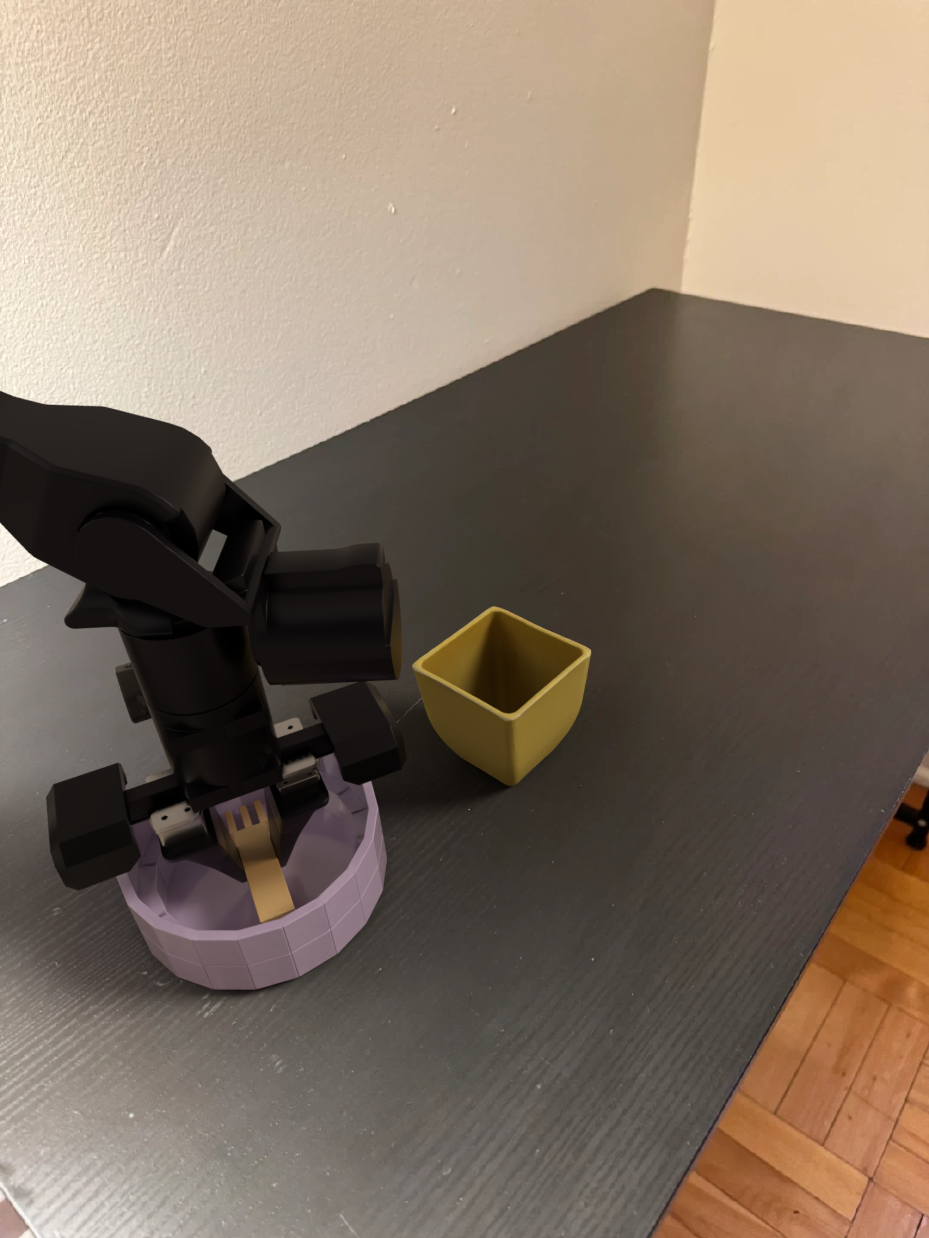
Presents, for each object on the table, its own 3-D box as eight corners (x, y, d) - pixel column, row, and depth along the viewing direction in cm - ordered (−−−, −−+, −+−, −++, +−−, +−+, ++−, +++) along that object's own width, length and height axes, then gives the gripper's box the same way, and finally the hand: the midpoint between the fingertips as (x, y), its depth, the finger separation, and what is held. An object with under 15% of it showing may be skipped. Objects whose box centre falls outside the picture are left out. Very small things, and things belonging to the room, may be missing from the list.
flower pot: (419, 759, 61) (408, 663, 56) (497, 695, 66) (493, 602, 61) (514, 820, 56) (511, 721, 51) (590, 746, 61) (595, 649, 56)
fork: (310, 935, 49) (301, 905, 48) (263, 955, 48) (253, 925, 47) (264, 806, 57) (255, 775, 56) (223, 821, 57) (213, 790, 55)
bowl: (90, 951, 50) (58, 895, 47) (230, 769, 61) (212, 713, 58) (316, 1031, 45) (298, 975, 42) (423, 818, 57) (416, 761, 53)
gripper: (329, 552, 51) (362, 735, 61) (0, 645, 46) (92, 831, 55) (394, 654, 43) (421, 848, 52) (3, 783, 37) (111, 974, 47)
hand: (262, 868), depth 52 cm, fingers closed on fork, 2 cm apart
